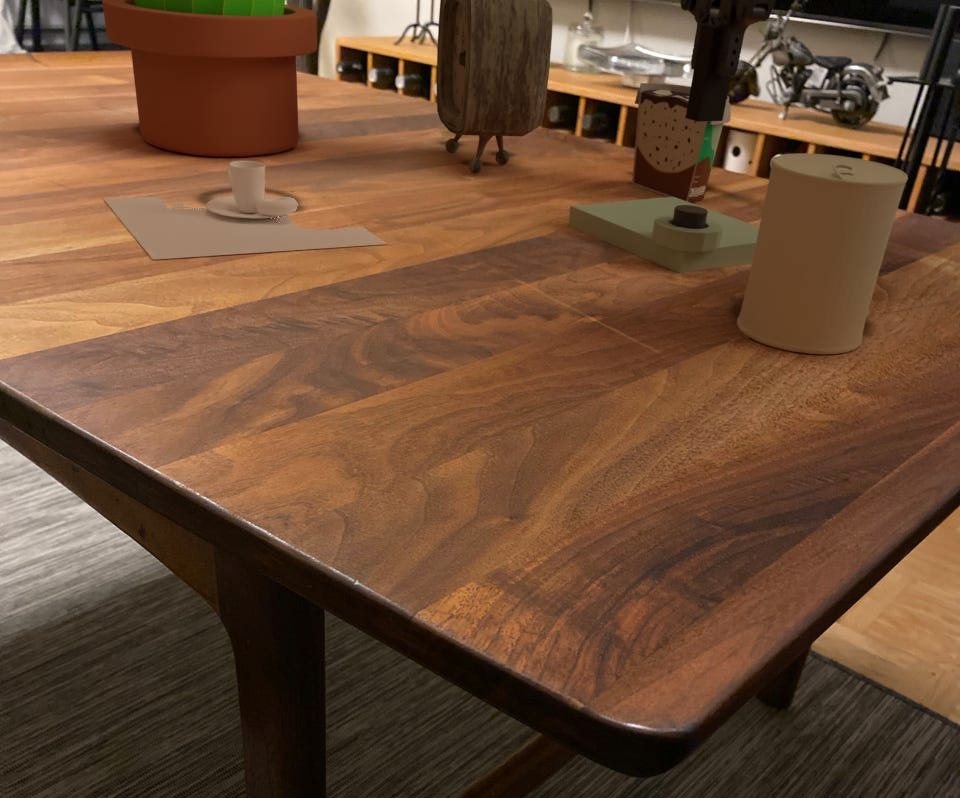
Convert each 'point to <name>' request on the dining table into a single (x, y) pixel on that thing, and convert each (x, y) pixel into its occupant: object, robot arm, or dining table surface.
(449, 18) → the tabletop clock
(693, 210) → the tare button
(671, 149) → the food container
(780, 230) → the can
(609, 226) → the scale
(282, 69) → the potted cactus
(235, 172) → the teacup and saucer
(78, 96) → the dining table surface
